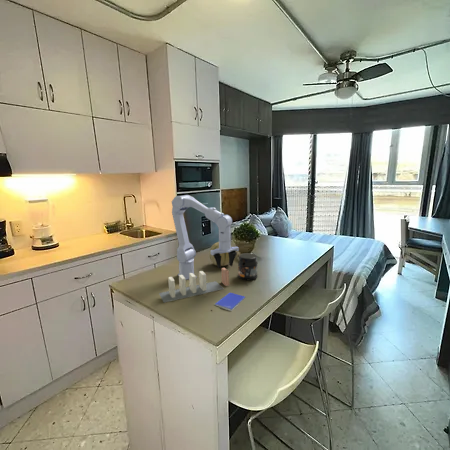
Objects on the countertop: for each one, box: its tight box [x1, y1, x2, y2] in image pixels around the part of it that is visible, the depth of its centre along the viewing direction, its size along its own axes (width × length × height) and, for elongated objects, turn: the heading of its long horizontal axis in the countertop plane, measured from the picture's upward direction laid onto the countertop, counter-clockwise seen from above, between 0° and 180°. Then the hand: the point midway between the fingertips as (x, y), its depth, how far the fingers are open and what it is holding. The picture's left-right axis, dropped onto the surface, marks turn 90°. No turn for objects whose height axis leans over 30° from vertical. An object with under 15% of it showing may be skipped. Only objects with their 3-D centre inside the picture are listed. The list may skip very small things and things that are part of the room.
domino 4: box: [198, 270, 207, 291], centre depth 120 cm, size 5×2×8 cm, turn 26°
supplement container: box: [237, 252, 258, 281], centre depth 134 cm, size 10×10×12 cm
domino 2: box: [178, 275, 187, 295], centre depth 116 cm, size 5×2×8 cm, turn 26°
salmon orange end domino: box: [220, 267, 230, 287], centre depth 126 cm, size 5×2×8 cm, turn 26°
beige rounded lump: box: [208, 241, 229, 267], centre depth 152 cm, size 15×15×15 cm
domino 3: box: [188, 273, 197, 293], centre depth 118 cm, size 5×2×8 cm, turn 26°
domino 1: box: [167, 276, 176, 298], centre depth 114 cm, size 5×2×8 cm, turn 26°
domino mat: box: [158, 280, 225, 303], centre depth 119 cm, size 10×29×1 cm, turn 116°
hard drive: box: [214, 292, 246, 312], centre depth 109 cm, size 2×8×12 cm
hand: (225, 266), depth 124 cm, fingers open, 6 cm apart
